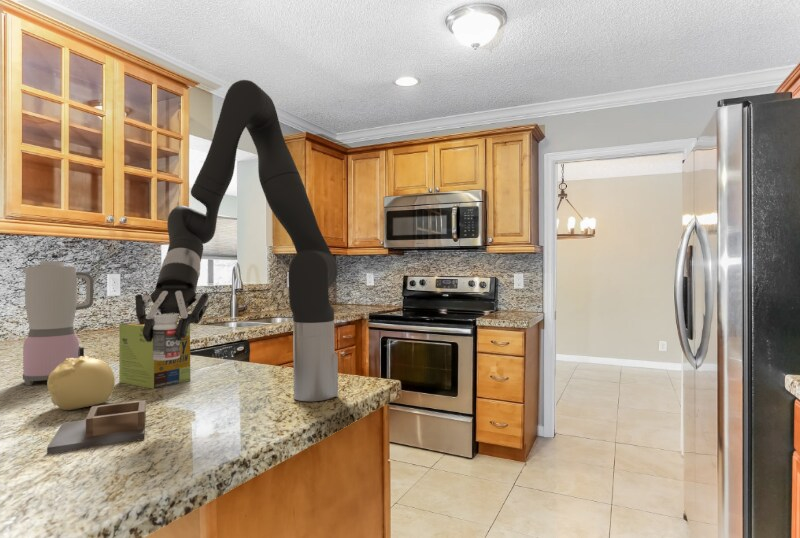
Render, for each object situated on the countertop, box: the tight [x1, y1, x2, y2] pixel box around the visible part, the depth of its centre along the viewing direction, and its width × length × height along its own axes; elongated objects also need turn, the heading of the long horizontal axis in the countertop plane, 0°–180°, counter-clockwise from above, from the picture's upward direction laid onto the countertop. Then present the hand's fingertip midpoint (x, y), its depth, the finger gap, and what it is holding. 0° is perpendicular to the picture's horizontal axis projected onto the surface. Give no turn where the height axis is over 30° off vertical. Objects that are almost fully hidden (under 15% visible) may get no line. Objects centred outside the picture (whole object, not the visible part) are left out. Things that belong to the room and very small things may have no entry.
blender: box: [21, 260, 95, 386], centre depth 127 cm, size 16×12×32 cm
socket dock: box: [46, 399, 147, 455], centre depth 82 cm, size 13×14×4 cm
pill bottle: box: [153, 313, 180, 361], centre depth 89 cm, size 5×5×8 cm
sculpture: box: [46, 355, 116, 411], centre depth 100 cm, size 12×12×11 cm
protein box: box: [118, 321, 191, 390], centre depth 123 cm, size 10×15×16 cm
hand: (163, 338), depth 87 cm, fingers closed on pill bottle, 4 cm apart
